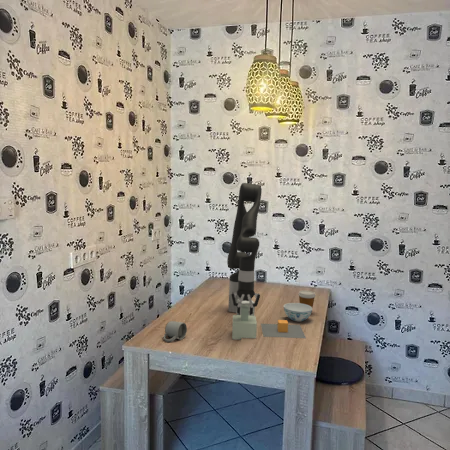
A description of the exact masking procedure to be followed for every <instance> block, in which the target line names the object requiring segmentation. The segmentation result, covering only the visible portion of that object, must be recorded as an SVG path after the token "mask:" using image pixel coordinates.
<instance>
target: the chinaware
mask: <svg viewBox="0 0 450 450" xmlns="http://www.w3.org/2000/svg"><path fill="white" fill-rule="evenodd" d="M283 310H284V314H285V315H286V316H287V318H288V319H290V320H292V321H293V322H297V323H298V322H304V321H306V320H307V319H308V318H309V317H310V316H311V315H312V314H311V312H313V308H312V307H311V306H309V305H306V304H302V303H299V302H289V303H284V304H283ZM310 314H311V315H310Z"/></svg>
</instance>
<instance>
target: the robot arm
mask: <svg viewBox="0 0 450 450" xmlns="http://www.w3.org/2000/svg"><path fill="white" fill-rule="evenodd" d="M238 192H239V193H238V199H237V209H236V215H235V220H234V223H233V231H232V237H231V243H230V247H229V250H228V254H227V261H226V262H227V267H228V268H229V269H232V270H235V269H236V272H234V273H231V274H230V275H229V285H228V286H229V287H228V308H227V309H228V310H227V312H230V313H231V312H232V313H234V314H235V313H236V315H237V314H238V315H240V305H241V303H242V301H249V303H250V315H251V314H253V307H255V308H257V307H258V304H259V301H260V299H261V294H260V293H256V292H255V279H256V278H255V265H256V264H255V263H256V257H257V254H258V251H259V248H260V240H259V239H258V237H255V236H256V234H257V223H258V221H257V220H258V215H259V212H260V205H261V201H262V200H261V199H262V193H263V192H262V186H261V185H259V184H256V183H249V182H242V183H241V185H240V186H239V191H238ZM245 202H249V203H253V205H252V206H251V207H250V209H248V211H247V209H246V206H245ZM247 253H250V254H249V255H248V254H247ZM253 297H255V301H254V302H255V303H254V304H253V303H252V301H253V300H252V298H253ZM237 299H239V301H238V303H237Z"/></svg>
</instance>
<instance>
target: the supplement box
mask: <svg viewBox="0 0 450 450" xmlns="http://www.w3.org/2000/svg"><path fill="white" fill-rule="evenodd" d="M238 301H239V299H237V303H238ZM252 303H253V304H254V303H255V301H253V300H252ZM242 305H248V307H249V312H248V316H255V309H256V307H253V314H251V315H250V303H249V301H242V303H241V305H240V315H241V307H242ZM236 315H238V314H237V313H236Z"/></svg>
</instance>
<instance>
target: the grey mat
mask: <svg viewBox="0 0 450 450" xmlns="http://www.w3.org/2000/svg"><path fill="white" fill-rule="evenodd" d="M260 326H261V332H262V335H263V337H265V338H266V337H267V338H283V339H285V338H290V339H307V337H306V335H305V333H304V330H303V328H302V326H301V324H288V332H278V329H277V326H278V323H260Z"/></svg>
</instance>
